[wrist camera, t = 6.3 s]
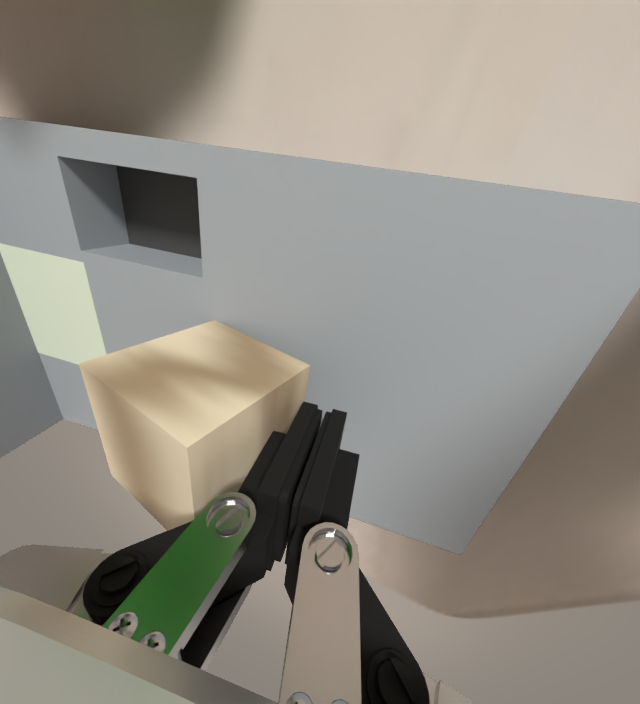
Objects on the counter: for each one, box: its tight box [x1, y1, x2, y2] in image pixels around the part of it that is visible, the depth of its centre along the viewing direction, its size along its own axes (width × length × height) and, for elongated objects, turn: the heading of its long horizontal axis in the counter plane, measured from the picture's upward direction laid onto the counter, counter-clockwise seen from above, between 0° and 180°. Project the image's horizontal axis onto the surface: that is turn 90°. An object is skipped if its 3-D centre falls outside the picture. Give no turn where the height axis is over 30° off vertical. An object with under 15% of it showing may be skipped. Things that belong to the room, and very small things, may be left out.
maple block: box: [79, 320, 310, 531], centre depth 11 cm, size 5×5×5 cm
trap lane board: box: [0, 117, 640, 555], centre depth 13 cm, size 26×16×7 cm, turn 82°
